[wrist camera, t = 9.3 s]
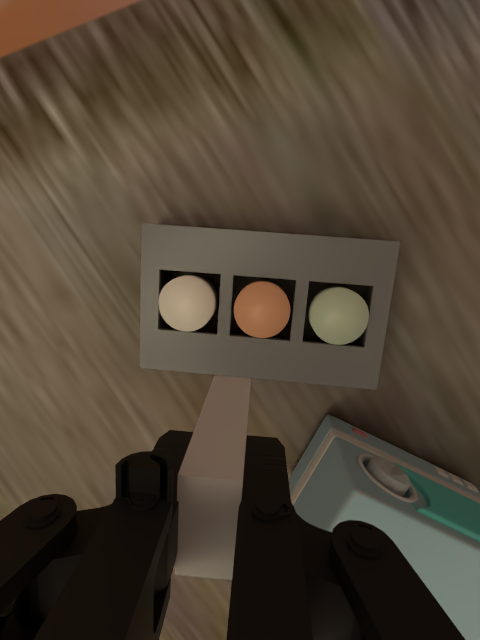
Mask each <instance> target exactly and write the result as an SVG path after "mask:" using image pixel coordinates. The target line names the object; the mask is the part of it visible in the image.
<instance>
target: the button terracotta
mask: <svg viewBox="0 0 480 640" xmlns="http://www.w3.org/2000/svg"><path fill="white" fill-rule="evenodd" d="M234 317H235V320H236V322H237V324H238V326H239V327H240V328H241V329H242V330H243V331H244V332H245V333H246V334H248V335H250V336H252V337H256V338H268V337H272V336H274V335H276V334H278V333H279V332H280V331H281V330H283V328H284V327H285V326H286V324H287V322H288V320H289V317H290V304H289V301H288V298H287V296H286V294H285V292H284V290H283V289H282V288H281V287H280V286H279V285H278V284H276V283H274V282H272V281H269V280H256V281H253V282H250V283H249V284H247V285H246V286H245V287H244V288H243V289H242V290H241V291H240V293H239V295H238V297H237V298H236V301H235V304H234Z"/></svg>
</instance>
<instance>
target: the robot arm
mask: <svg viewBox="0 0 480 640" xmlns="http://www.w3.org/2000/svg"><path fill="white" fill-rule="evenodd" d="M250 383H251V378H241V377H228V376H215V375H214V378H213V381H212V383H211V386H210V389H209V391H208V394H207V397H206V400H205V402H204V405H203V408H202V410H201V413H200V416H199V419H198V421H197V424H196V427H195V430H194V432H186V431H174V430H169V431H168V432H167V433H165V434H164V435H163V436H161V437H160V438H159V439H158V441H157V443H156V445H155V447H154V449H153V451H148V452H138V453H134V454H131V455H129V456H127V457H125V458H123V459H121V460H120V461H119V462H118V463H117V464H116V498H115V500H114V501H113V503H112V504H110V505H108V506H105V507H100V508H95V509H88V510H81V511H77V506H76V504H75V502H74V500H73V499H72V498H70V497H68V496H66V495H60V494H51V495H43V496H40V497H37V498H34V499H32V500H29V501H28V502H26V503H24V504H23V505H21V506H19V507H18V508H17V509H15V510H14V511H13V512H11V513H10V514H9V515H7V516H6V517H5V518H3V519H2V520H1V521H0V640H159V637H160V633H161V629H162V625H163V621H164V618H165V614H166V610H167V606H168V602H169V598H170V586H171V574H172V571H173V567H174V563H175V575H184V576H194V577H204V578H214V579H223V580H232V587H231V598H230V609H229V620H228V631H227V640H465V638H464V637H463V635H462V634H461V633H460V631H459V630H458V629H457V627H456V626H455V625H454V623H453V622H452V621H451V619H450V618H449V616H448V615H447V614H446V612H445V611H444V610H443V608H442V607H441V606H440V604H439V603H438V601H437V600H436V599H435V597H434V596H433V595H432V593H431V592H430V591H429V589H428V588H427V586H426V585H425V584H424V582H423V581H422V580H421V578H420V577H419V576H418V574H417V573H416V572H415V570H414V569H413V567H412V566H411V565H410V563H409V562H408V561H407V559H406V558H405V557H404V555H403V554H402V552H401V551H400V550H399V548H398V547H397V546H396V544H395V543H394V542H393V540H392V539H391V538H390V537H389V536H388V535H387V534H386V533H385V532H384V531H382V530H380V529H379V528H377V527H375V526H374V525H372V524H369V523H366V522H363V521H357V520H347V521H343V522H340V523H338V524H337V525H336V526H335V527H334V528H333V531H332V532H329V531H327V530H324V529H321V528H318V527H316V526H314V525H311V524H309V523H308V522H306V521H305V520H303V519H302V518H301V517H300V516H299V515H298V514H297V513H296V511H295V508H294V506H293V504H292V503H291V499H290V491H289V482H288V474H287V465H286V457H285V448H284V446H283V445H282V444H281V442H280V441H279V440H278V439H277V438H271V437H259V436H247V427H248V412H249V398H250Z"/></svg>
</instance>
